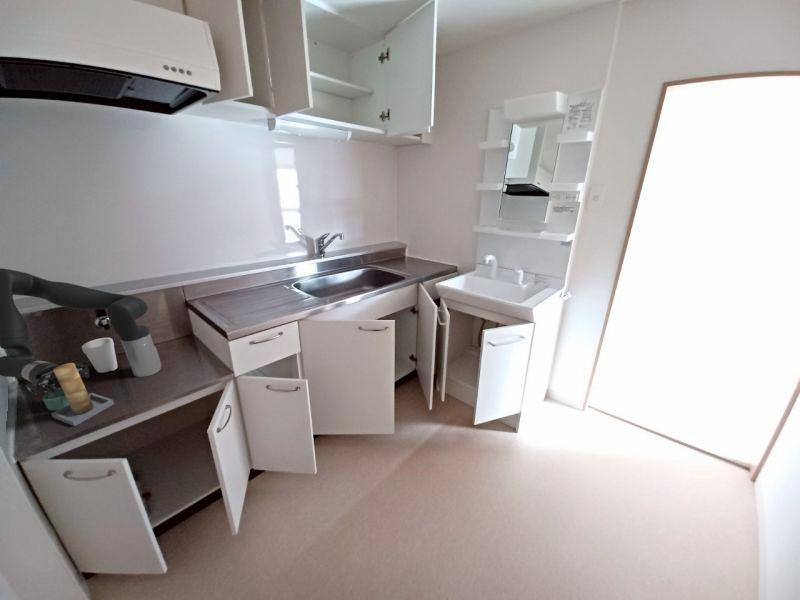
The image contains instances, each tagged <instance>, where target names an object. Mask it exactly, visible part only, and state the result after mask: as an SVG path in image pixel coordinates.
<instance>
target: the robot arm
mask: <svg viewBox="0 0 800 600" xmlns="http://www.w3.org/2000/svg"><path fill="white" fill-rule="evenodd" d="M13 296H26V297H32V298H38V299H39V298H40V299H44V300H45V301H48V302H49V303H51V304H53V305H57V306H58V307H64V308H67V309H68V308H69V309H72V310H73V309H74V310H79V311H81V310H83V311H84V310H85V311H86V310H89V311H90V310H106V314H107V317H108V320H109V323H111V327H112V329H113V330H114V332H115V334H116V335H117V336H118V337H119V338H120V339H119V340H120V341H121V344H122V347H123V349H124V351H125V355H126V357H127V361H128V364H129V366H130V369H131V370H132V373H133V376H135V377H138V378H140V377H141V378H142V377H146V376H149V377H150V376H153V375H154V374H156V373H158V372H159V371H160V370H161V368H162V362H161V358H160V355H159V352H158V348H157V346H155V345H154V342H153V339H152V335H151V333H150V330H149V328H148V326H146V325H143V324H141V325H140V324H138V325H137V322H136V320H138V319H140V318H141V317H143V316H144V315H145V314H146V313H147V312H148V309H149V308H148V304H147V303H146V302H145V301H144V300H143V299H141V298H140V297H137V296H133V295H128V294H121V293H120V294H119V293H112V292H109V291H103V290H98V289H95V288H91V287H90V288H89V287H85V286H82V285H79V284H74V283H69V282H63V281H52V280H47V279H44V278H41V277H39V276H37V275H33V274H30V273H27V272H23V271H19V270H13V269H9V268H0V348H1V349H3V350H11V351H12V350H13V351H16V352H17V353H18V354H11V355H4V356H0V376H1V377H6V378H7V377H8V378H21V379H25V380H26V381H28V382H30V383H27V384H25V388H27V391H28V392H29V393H31V394H34V395H35V396H39V395H41V394H42V393H48V392H49V393H57V392H58V390H57V389H58V388H57V387H56V386H55V385H56V384H60V383H59V381H58V379H57V377H56V375H55V373H54V371H53V370H54V369H55V368H56V367H58V366H60V365H58V364H56V363H53V362H49V361H44V360H41V359H39V357H38V356H37V354H36V352H35V350H34V348H33V345H32V344H31V341H30V333H29V332H30V331H29V325H28V323H27V321H26V319H25V317H24V316H23V315H22V313H21V312H20V311H19V309H18V307H17V305H16V304H15V301H14V297H13ZM74 364H75V366H76V368H77V370H78V373H79V375H80V377H81V378H85V379H89V378H90V370H89V367H88V365H86V364H82V363H78V362H77V363H74ZM39 386H40V387H39Z"/></svg>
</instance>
